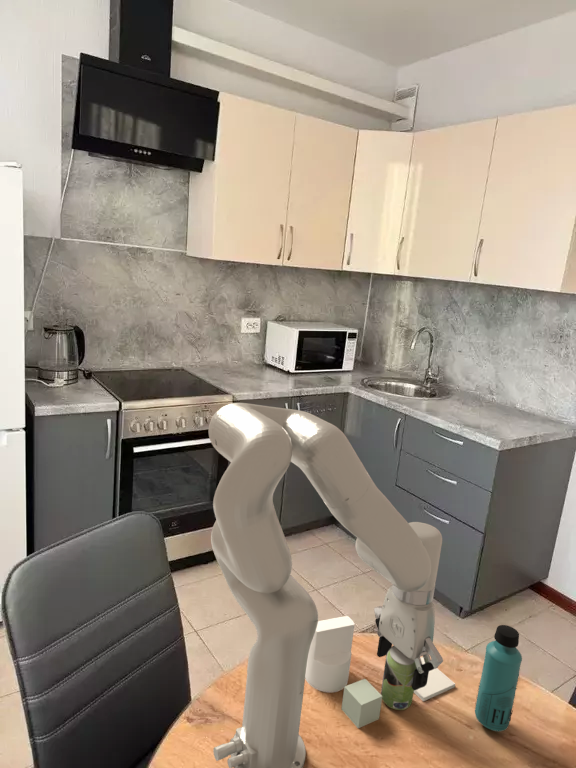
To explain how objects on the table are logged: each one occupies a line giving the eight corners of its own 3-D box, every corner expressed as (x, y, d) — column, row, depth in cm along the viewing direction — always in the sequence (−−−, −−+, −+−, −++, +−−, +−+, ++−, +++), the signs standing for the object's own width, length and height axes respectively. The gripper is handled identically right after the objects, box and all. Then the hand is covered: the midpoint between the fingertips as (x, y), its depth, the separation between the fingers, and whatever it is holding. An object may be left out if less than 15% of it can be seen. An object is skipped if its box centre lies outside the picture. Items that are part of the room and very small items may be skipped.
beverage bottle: (485, 741, 101) (504, 644, 97) (465, 713, 107) (482, 620, 103) (516, 736, 102) (536, 640, 99) (494, 709, 109) (511, 617, 105)
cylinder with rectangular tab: (316, 696, 107) (323, 641, 105) (296, 665, 115) (302, 614, 113) (356, 686, 111) (363, 633, 109) (334, 657, 119) (341, 607, 117)
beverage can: (409, 692, 111) (418, 639, 109) (414, 721, 104) (423, 664, 101) (378, 687, 111) (385, 634, 109) (380, 715, 104) (388, 659, 102)
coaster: (423, 701, 109) (423, 697, 109) (392, 671, 116) (392, 668, 116) (454, 687, 114) (455, 683, 114) (422, 659, 121) (423, 656, 121)
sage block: (358, 728, 101) (361, 705, 100) (341, 709, 105) (344, 686, 104) (378, 719, 103) (382, 696, 103) (361, 700, 108) (365, 678, 107)
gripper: (367, 570, 108) (357, 648, 111) (433, 620, 94) (418, 708, 97) (396, 563, 112) (385, 638, 115) (463, 610, 98) (448, 694, 101)
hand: (400, 670), depth 106 cm, fingers open, 9 cm apart
